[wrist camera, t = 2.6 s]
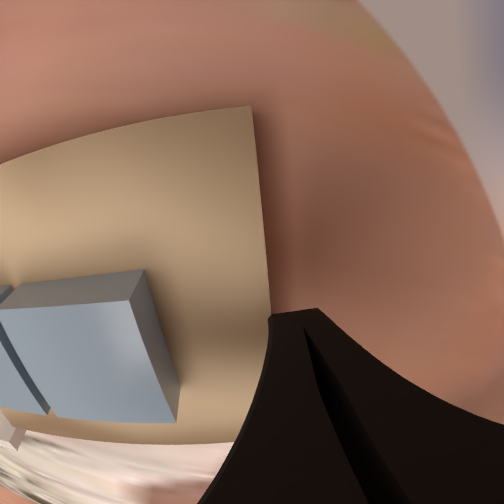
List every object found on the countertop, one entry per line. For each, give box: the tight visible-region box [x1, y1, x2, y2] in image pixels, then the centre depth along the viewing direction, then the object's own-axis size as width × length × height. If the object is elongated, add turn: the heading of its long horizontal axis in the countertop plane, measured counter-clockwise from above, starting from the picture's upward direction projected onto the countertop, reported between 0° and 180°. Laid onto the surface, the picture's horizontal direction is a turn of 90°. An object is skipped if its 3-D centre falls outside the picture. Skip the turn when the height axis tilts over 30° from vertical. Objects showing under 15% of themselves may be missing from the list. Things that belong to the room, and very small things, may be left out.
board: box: [0, 105, 271, 445], centre depth 10 cm, size 12×14×2 cm
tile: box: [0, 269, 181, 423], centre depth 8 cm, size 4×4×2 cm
